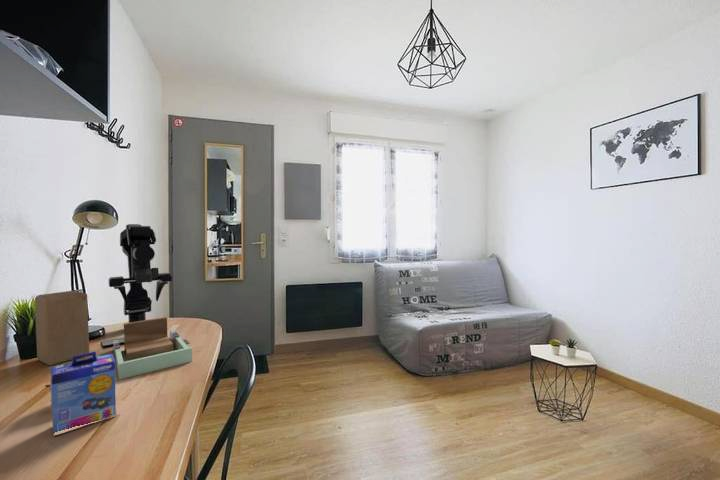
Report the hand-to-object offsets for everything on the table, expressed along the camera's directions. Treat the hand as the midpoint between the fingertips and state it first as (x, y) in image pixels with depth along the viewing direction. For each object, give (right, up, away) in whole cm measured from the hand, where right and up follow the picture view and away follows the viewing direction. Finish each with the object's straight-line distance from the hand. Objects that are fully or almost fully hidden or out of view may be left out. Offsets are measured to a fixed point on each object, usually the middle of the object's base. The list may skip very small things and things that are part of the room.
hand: (142, 302), depth 117 cm
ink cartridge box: (+24, -14, -51) cm, 58 cm away
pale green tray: (+14, -13, -16) cm, 25 cm away
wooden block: (-12, -14, -18) cm, 26 cm away
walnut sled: (+11, -13, -12) cm, 21 cm away
